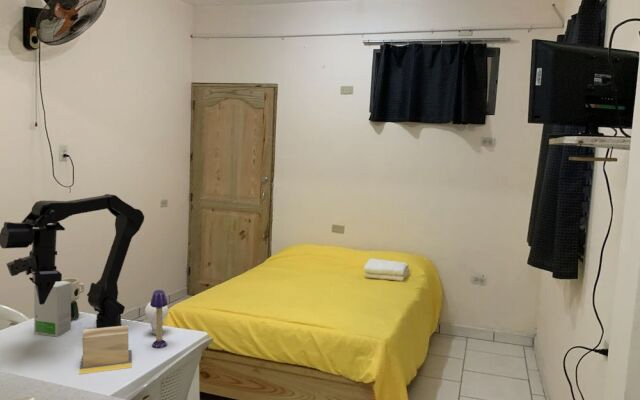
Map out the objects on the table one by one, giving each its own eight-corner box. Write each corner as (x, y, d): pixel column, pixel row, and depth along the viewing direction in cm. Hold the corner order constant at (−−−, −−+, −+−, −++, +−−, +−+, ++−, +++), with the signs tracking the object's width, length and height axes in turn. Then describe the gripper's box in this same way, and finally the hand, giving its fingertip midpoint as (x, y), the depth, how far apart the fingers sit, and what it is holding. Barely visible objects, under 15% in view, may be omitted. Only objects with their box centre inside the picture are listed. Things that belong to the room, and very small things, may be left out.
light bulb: (148, 330, 157) (147, 296, 156) (170, 330, 158) (169, 296, 156) (142, 339, 151) (142, 303, 149) (165, 339, 151) (165, 303, 150)
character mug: (56, 326, 159) (54, 286, 157) (46, 320, 163) (44, 281, 162) (90, 317, 167) (89, 279, 166) (79, 312, 172) (78, 275, 170)
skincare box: (34, 334, 152) (31, 284, 150) (50, 326, 159) (48, 278, 157) (57, 337, 150) (55, 286, 149) (73, 329, 157) (71, 280, 155)
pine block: (85, 358, 136) (84, 329, 135) (128, 352, 140) (127, 325, 139) (83, 367, 131) (82, 338, 130) (128, 362, 134) (127, 333, 133)
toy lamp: (171, 347, 145) (170, 291, 143) (156, 352, 142) (155, 294, 140) (162, 342, 149) (161, 287, 147) (147, 347, 145) (146, 290, 143)
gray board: (82, 357, 138) (82, 355, 138) (131, 351, 142) (131, 349, 142) (78, 375, 127) (78, 374, 127) (131, 369, 131) (131, 367, 131)
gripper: (6, 244, 140) (3, 300, 140) (13, 250, 125) (11, 313, 125) (50, 244, 147) (48, 297, 147) (63, 249, 132) (60, 309, 132)
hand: (41, 304), depth 138 cm, fingers closed
